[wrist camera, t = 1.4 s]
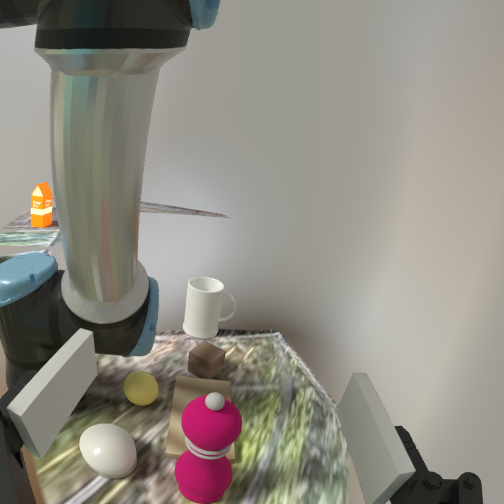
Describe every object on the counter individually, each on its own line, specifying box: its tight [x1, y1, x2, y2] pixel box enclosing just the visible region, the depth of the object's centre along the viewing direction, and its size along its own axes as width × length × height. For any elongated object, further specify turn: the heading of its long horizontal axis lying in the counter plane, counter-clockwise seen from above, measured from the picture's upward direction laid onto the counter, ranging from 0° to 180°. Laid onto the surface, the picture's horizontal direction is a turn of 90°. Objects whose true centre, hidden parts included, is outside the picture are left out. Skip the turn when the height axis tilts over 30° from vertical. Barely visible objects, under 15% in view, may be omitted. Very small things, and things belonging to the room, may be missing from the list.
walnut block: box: [188, 341, 226, 379], centre depth 55 cm, size 5×5×5 cm
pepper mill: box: [175, 392, 242, 504], centre depth 27 cm, size 7×7×20 cm
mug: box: [183, 277, 236, 339], centre depth 68 cm, size 12×8×12 cm
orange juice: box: [31, 182, 52, 228], centre depth 113 cm, size 8×9×20 cm
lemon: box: [123, 371, 159, 406], centre depth 43 cm, size 6×6×6 cm
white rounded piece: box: [79, 424, 137, 479], centre depth 30 cm, size 8×8×4 cm
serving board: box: [166, 375, 235, 463], centre depth 43 cm, size 18×10×1 cm, turn 5°
